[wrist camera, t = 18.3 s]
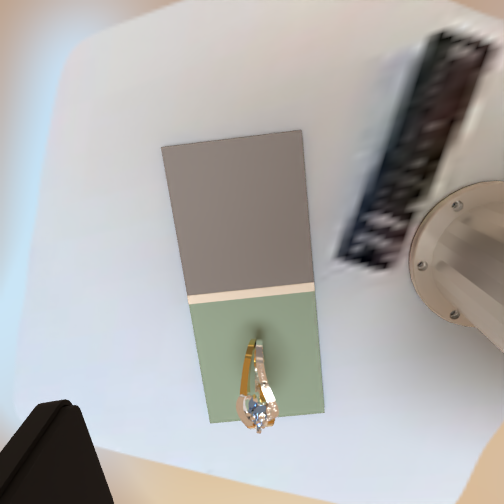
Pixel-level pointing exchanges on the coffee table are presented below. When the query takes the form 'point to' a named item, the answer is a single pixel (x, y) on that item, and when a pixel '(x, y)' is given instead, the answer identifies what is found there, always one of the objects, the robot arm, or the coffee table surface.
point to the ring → (256, 391)
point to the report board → (248, 266)
